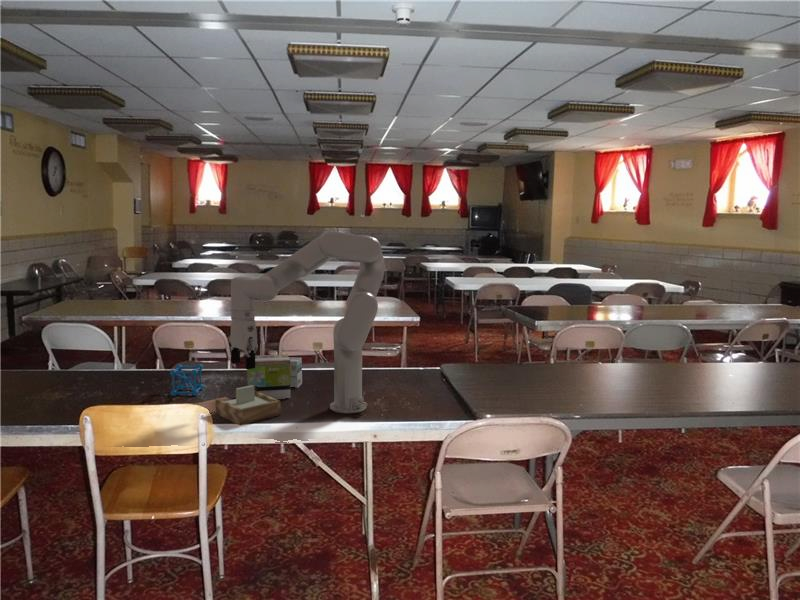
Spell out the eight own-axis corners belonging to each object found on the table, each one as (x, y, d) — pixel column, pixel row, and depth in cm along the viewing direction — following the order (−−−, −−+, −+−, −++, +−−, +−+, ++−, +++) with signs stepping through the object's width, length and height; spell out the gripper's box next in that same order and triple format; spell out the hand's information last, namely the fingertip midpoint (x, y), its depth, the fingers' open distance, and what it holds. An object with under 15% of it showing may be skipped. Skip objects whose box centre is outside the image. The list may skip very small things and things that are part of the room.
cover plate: (274, 406, 204) (274, 388, 203) (241, 414, 196) (240, 396, 195) (254, 397, 214) (253, 380, 213) (221, 405, 205) (220, 387, 204)
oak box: (280, 415, 204) (280, 400, 204) (239, 425, 194) (239, 410, 194) (255, 404, 216) (255, 390, 215) (215, 413, 206) (215, 399, 205)
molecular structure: (204, 389, 234) (203, 363, 233) (197, 396, 224) (196, 370, 223) (177, 389, 233) (176, 363, 232) (169, 397, 224) (168, 370, 222)
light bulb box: (302, 383, 243) (302, 357, 241) (298, 388, 236) (297, 361, 235) (276, 382, 244) (275, 356, 242) (270, 387, 237) (270, 360, 236)
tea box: (248, 402, 218) (247, 361, 216) (247, 394, 228) (246, 355, 226) (291, 399, 223) (290, 359, 221) (288, 391, 232) (287, 353, 230)
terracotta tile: (242, 406, 214) (242, 404, 213) (210, 413, 205) (210, 412, 205) (225, 398, 222) (225, 397, 222) (194, 405, 214) (194, 403, 214)
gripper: (266, 317, 198) (266, 369, 200) (239, 310, 210) (240, 359, 213) (246, 319, 193) (246, 372, 195) (219, 312, 205) (219, 362, 207)
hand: (242, 365), depth 204 cm, fingers open, 9 cm apart
